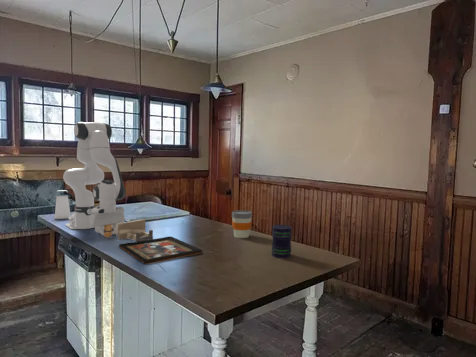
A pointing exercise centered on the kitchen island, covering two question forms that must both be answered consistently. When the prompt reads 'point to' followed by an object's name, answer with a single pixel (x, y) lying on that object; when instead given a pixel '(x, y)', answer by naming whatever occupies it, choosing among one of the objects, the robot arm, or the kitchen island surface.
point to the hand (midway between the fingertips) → (107, 232)
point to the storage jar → (281, 241)
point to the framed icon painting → (159, 249)
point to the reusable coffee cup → (241, 223)
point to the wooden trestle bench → (134, 231)
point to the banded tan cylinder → (108, 230)
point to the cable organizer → (112, 231)
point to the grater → (62, 207)
